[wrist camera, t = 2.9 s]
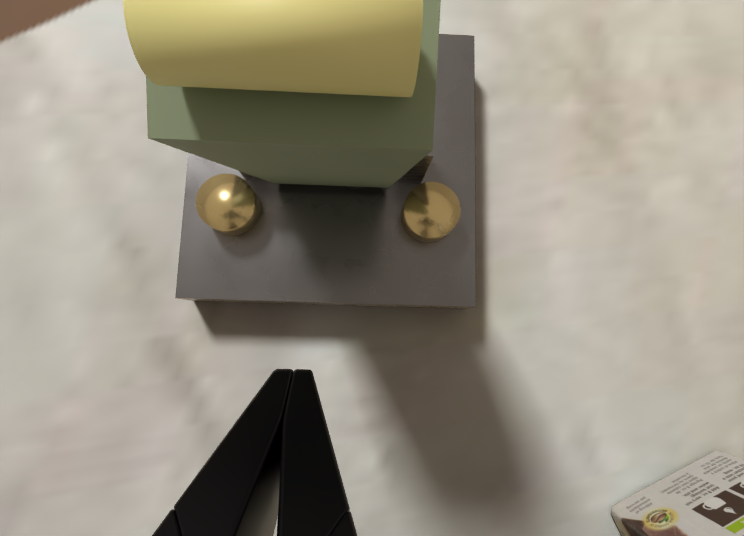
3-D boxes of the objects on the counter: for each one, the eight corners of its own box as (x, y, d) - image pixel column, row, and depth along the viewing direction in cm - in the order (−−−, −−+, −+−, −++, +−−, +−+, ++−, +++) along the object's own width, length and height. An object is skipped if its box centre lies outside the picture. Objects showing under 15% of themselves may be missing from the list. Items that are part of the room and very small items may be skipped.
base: (464, 308, 20) (500, 303, 15) (193, 300, 20) (137, 292, 15) (463, 61, 22) (496, -18, 17) (214, 49, 22) (170, -37, 17)
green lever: (392, 188, 19) (465, 133, 6) (271, 183, 19) (75, 116, 6) (395, 120, 19) (480, -100, 6) (272, 114, 18) (63, -127, 5)
